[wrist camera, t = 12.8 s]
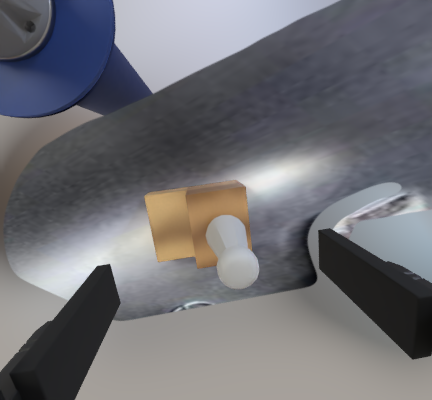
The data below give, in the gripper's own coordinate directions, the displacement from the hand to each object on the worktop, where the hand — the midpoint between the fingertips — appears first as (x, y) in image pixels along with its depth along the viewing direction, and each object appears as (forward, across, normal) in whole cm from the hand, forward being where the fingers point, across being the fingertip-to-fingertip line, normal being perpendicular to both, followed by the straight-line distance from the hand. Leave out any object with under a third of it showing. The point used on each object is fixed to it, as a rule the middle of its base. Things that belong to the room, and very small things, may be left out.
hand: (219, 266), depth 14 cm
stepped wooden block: (+28, -2, -5) cm, 28 cm away
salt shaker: (+20, +2, -5) cm, 21 cm away
